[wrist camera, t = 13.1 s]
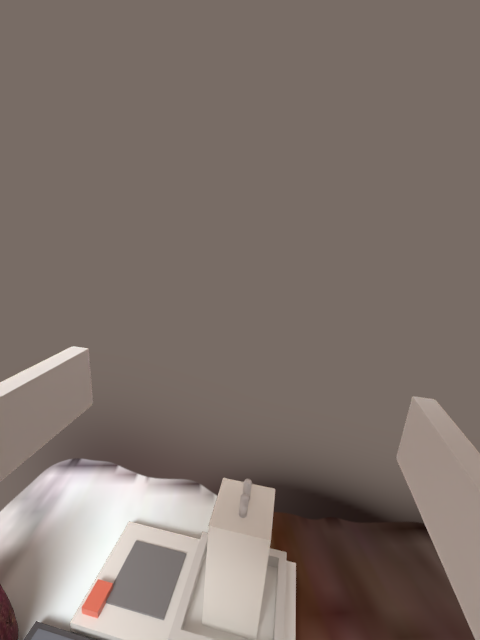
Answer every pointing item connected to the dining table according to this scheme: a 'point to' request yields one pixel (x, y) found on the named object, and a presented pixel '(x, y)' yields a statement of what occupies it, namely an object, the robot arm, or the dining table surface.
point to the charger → (237, 557)
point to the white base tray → (173, 592)
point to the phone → (51, 633)
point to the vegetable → (7, 619)
